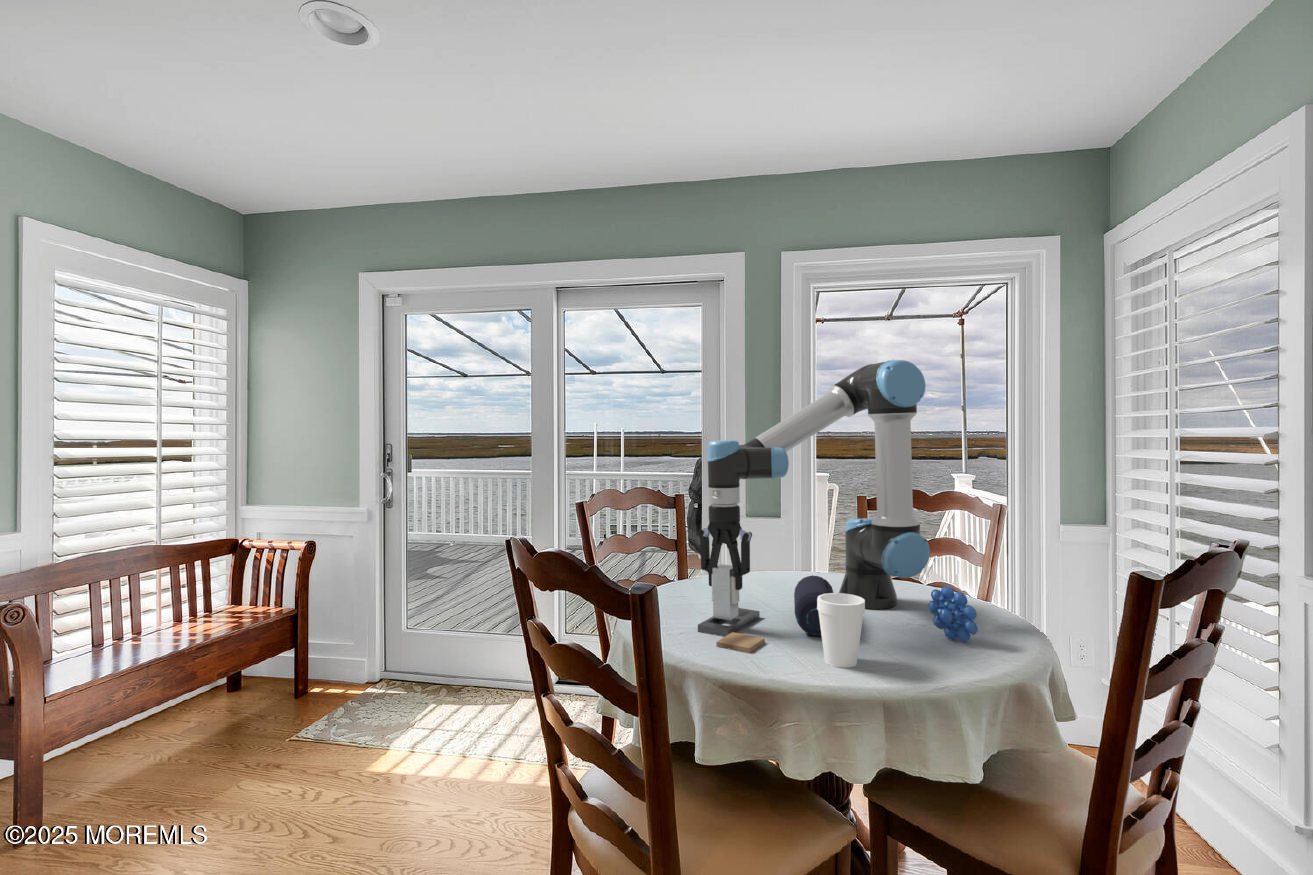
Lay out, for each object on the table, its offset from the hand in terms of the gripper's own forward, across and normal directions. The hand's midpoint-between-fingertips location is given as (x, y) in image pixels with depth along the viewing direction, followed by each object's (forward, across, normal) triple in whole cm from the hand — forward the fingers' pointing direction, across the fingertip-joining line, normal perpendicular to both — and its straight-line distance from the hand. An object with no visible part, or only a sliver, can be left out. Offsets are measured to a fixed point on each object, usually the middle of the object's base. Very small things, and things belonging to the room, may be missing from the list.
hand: (725, 601), depth 157 cm
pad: (+6, +8, -9) cm, 14 cm away
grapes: (+7, +47, +18) cm, 51 cm away
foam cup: (+7, +30, -8) cm, 32 cm away
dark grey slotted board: (+6, 0, +3) cm, 7 cm away
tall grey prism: (+4, 0, 0) cm, 4 cm away
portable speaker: (+7, +17, +14) cm, 23 cm away
